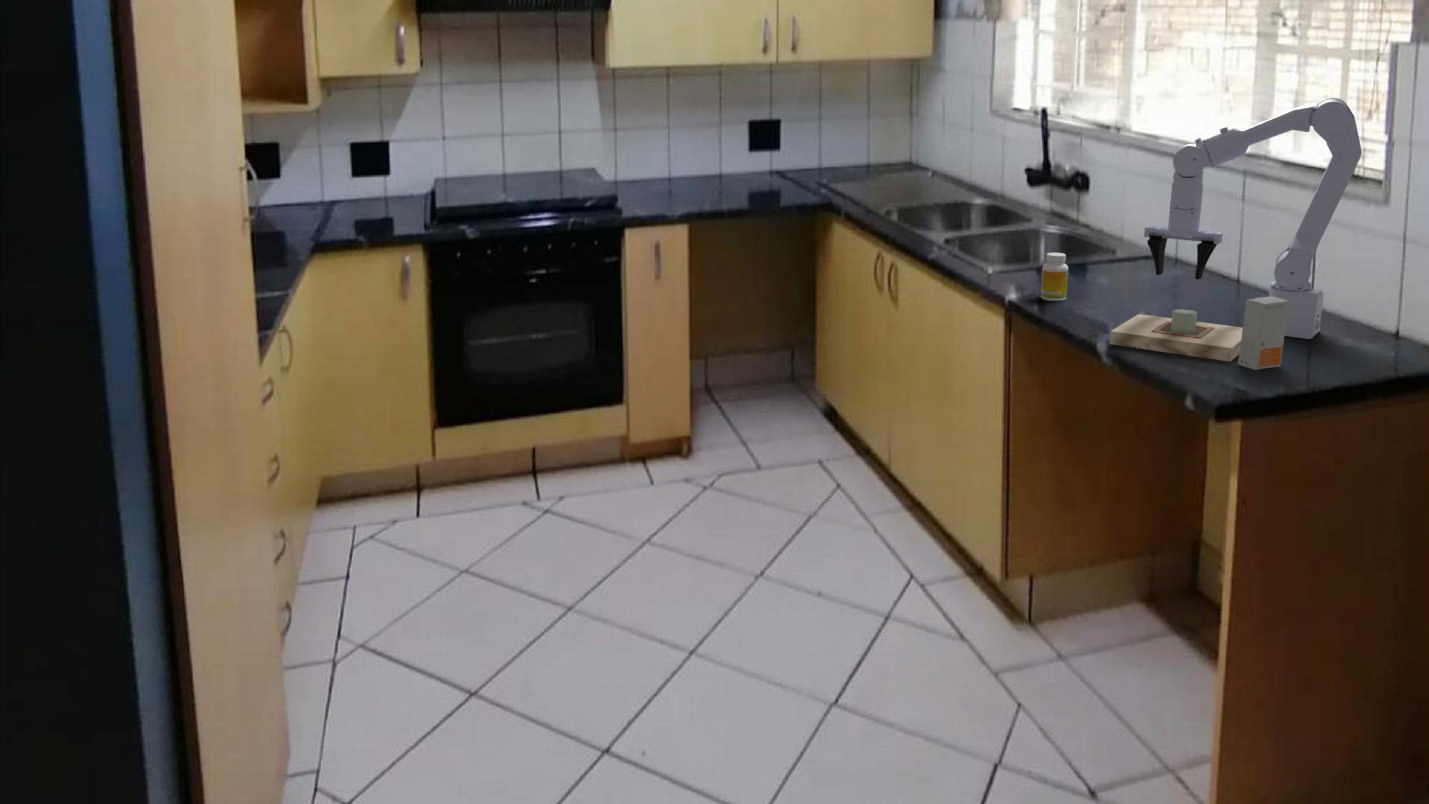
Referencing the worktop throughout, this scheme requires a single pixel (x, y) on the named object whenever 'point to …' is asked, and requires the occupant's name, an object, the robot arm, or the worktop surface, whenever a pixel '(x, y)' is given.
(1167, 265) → the worktop surface
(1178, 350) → the hole plate
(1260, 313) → the skincare box
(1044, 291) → the supplement bottle
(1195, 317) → the green peg
